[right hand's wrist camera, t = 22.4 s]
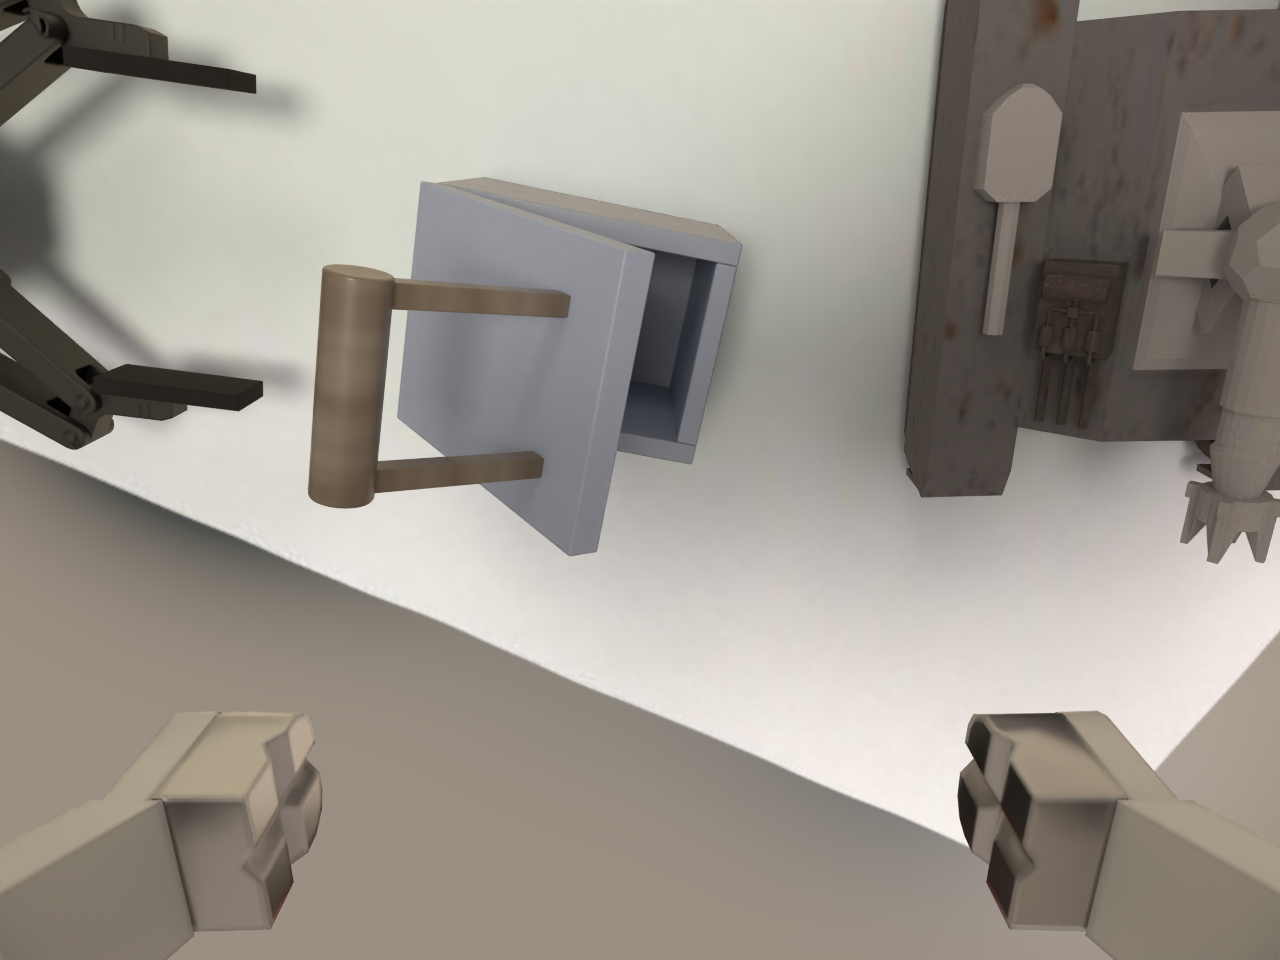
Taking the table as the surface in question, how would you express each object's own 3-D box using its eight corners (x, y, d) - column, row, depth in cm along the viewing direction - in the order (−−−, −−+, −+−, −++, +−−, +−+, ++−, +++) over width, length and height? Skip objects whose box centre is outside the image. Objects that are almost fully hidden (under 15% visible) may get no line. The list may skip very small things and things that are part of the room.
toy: (943, -58, 39) (1113, -178, 25) (1384, -65, 39) (1801, -191, 25) (894, 466, 48) (999, 593, 34) (1253, 461, 48) (1506, 586, 34)
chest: (719, 225, 44) (742, 244, 34) (681, 401, 47) (692, 465, 37) (482, 177, 43) (437, 182, 33) (460, 359, 46) (412, 413, 36)
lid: (656, 253, 24) (370, 219, 19) (597, 552, 27) (339, 595, 22) (446, 184, 33) (212, 148, 28) (421, 416, 36) (206, 424, 31)
